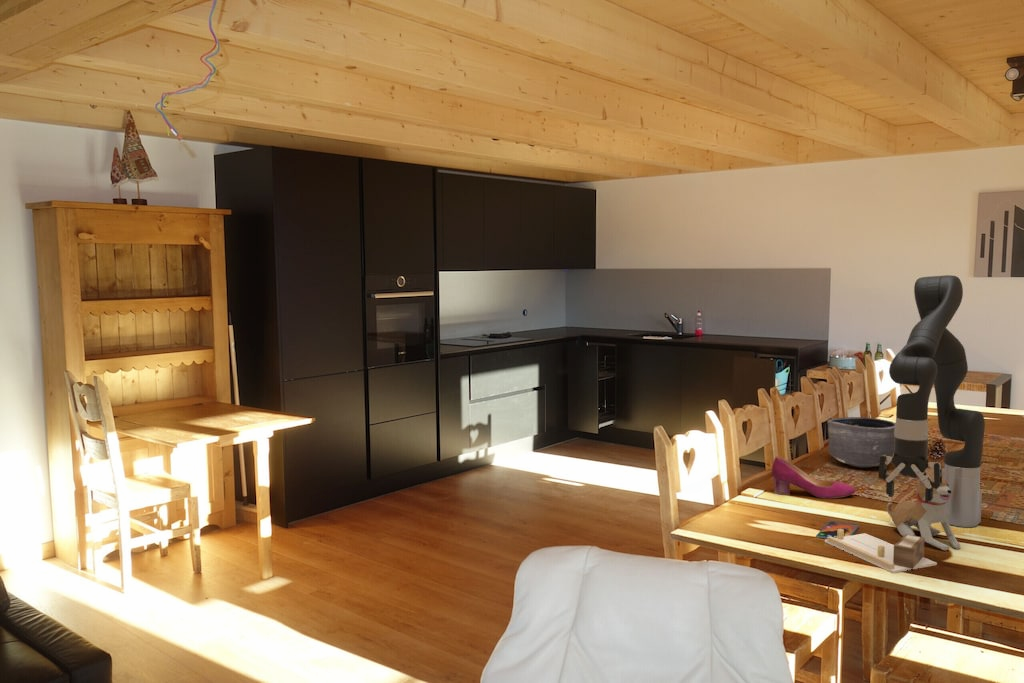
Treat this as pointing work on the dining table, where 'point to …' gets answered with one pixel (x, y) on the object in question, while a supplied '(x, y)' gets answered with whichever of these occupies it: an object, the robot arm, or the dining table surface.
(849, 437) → the tea bowl
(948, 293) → the robot arm
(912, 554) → the brown rectangular block
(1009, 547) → the dining table surface
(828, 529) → the smartphone
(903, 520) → the toy
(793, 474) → the high heel
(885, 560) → the wall board
